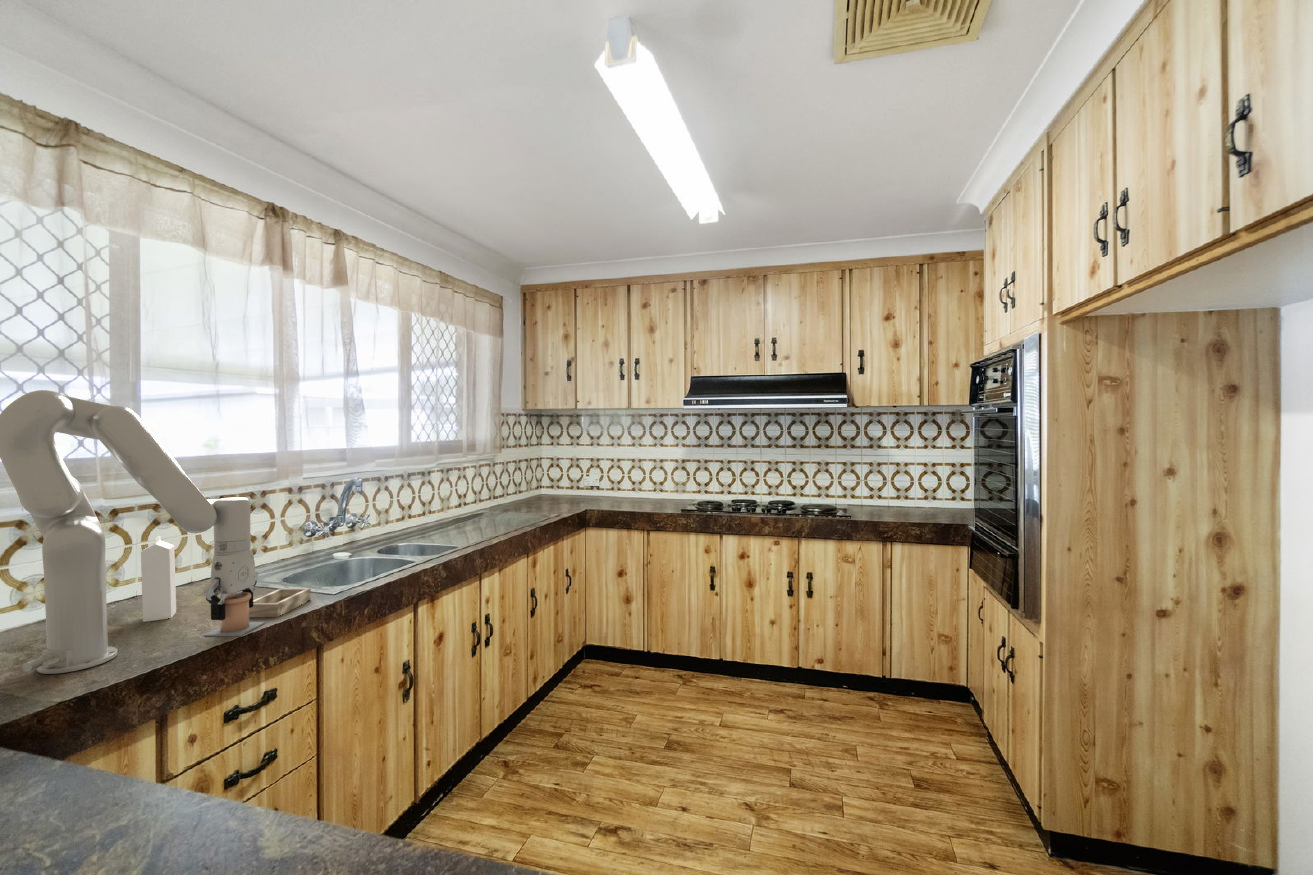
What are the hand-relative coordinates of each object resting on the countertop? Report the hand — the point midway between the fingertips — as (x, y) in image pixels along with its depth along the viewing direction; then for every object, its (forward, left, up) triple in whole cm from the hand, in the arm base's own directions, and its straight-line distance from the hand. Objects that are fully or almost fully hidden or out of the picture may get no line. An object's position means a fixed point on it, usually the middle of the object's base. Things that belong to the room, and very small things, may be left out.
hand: (232, 613), depth 147 cm
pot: (0, 0, -4) cm, 4 cm away
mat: (0, 0, -4) cm, 4 cm away
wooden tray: (+17, 0, -4) cm, 18 cm away
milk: (+10, +28, -5) cm, 30 cm away
